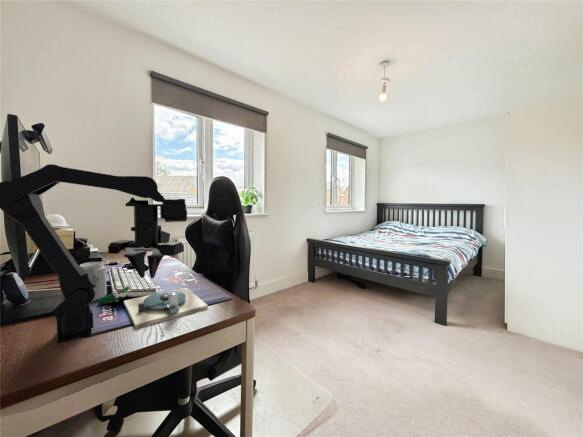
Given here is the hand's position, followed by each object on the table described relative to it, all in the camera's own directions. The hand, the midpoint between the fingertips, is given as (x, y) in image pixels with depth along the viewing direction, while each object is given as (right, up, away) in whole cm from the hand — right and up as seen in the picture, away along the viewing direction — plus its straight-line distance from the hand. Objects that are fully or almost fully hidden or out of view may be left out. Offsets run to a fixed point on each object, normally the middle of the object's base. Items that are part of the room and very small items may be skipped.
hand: (147, 277), depth 71 cm
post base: (0, -11, +9) cm, 15 cm away
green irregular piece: (-18, -11, +14) cm, 25 cm away
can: (-26, -10, +14) cm, 32 cm away
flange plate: (+1, -10, +8) cm, 13 cm away
